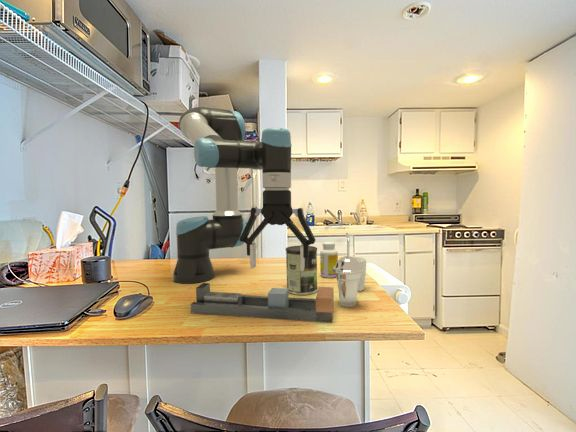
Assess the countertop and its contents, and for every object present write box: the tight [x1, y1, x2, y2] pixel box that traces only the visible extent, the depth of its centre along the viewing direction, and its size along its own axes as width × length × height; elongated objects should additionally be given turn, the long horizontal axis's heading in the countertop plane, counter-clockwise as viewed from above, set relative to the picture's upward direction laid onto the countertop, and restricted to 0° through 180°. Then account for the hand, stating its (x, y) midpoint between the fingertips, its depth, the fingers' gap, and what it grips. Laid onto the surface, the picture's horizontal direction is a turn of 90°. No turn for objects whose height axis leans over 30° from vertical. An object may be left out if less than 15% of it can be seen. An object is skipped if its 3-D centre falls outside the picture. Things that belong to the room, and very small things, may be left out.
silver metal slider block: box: [195, 282, 243, 305], centre depth 84 cm, size 12×4×6 cm, turn 79°
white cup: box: [352, 256, 367, 292], centre depth 99 cm, size 8×8×10 cm
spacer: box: [267, 287, 290, 308], centre depth 80 cm, size 5×5×6 cm
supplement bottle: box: [319, 241, 339, 279], centre depth 114 cm, size 7×7×13 cm
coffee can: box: [285, 245, 318, 296], centre depth 98 cm, size 10×10×14 cm
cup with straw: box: [333, 232, 363, 308], centre depth 85 cm, size 8×9×20 cm
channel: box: [190, 286, 335, 323], centre depth 81 cm, size 38×9×6 cm, turn 79°
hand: (277, 268), depth 80 cm, fingers open, 13 cm apart
